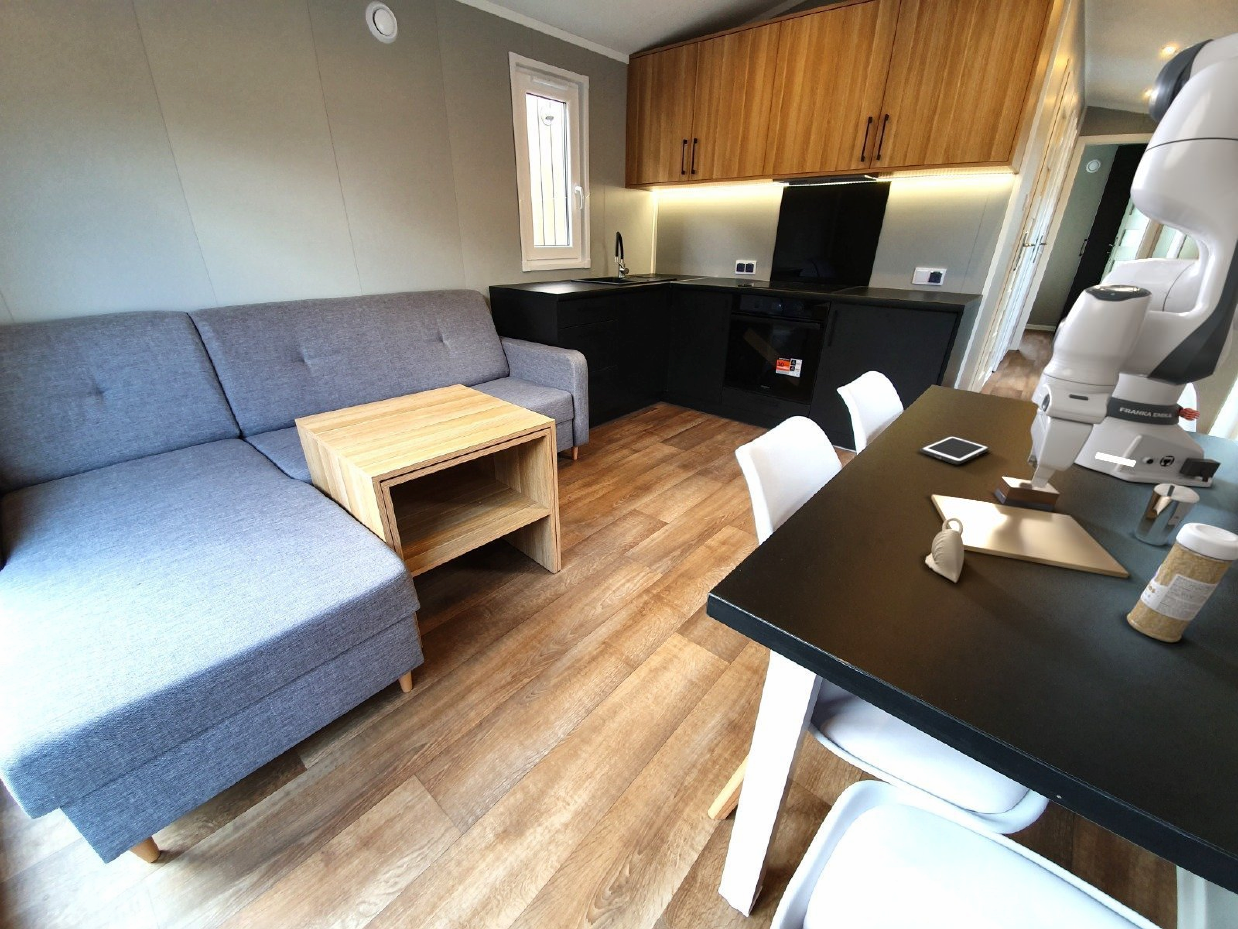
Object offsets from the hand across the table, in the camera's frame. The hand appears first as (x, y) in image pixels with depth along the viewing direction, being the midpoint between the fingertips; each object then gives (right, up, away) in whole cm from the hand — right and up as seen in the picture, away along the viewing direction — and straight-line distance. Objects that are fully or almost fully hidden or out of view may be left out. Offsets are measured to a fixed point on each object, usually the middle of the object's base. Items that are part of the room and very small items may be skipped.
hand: (1034, 475), depth 82 cm
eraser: (0, -5, +2) cm, 5 cm away
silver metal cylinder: (+11, -10, -7) cm, 17 cm away
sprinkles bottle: (-8, -18, -25) cm, 31 cm away
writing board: (-8, -9, -7) cm, 14 cm away
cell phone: (+1, +4, +22) cm, 22 cm away
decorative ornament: (-25, -12, -14) cm, 31 cm away
